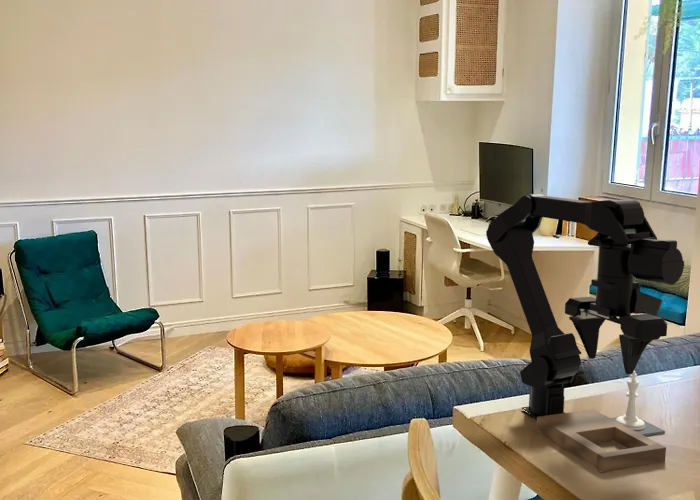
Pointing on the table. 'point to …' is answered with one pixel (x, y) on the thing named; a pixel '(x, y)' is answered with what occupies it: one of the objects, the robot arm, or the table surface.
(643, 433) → the rubber mat
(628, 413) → the chess piece
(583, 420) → the brown slab with hole
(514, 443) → the table surface
